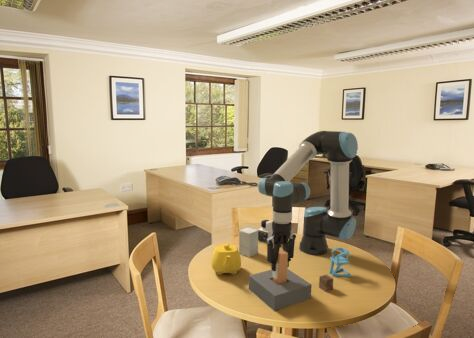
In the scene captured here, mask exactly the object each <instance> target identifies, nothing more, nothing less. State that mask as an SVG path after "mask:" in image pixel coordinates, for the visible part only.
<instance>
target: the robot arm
mask: <svg viewBox="0 0 474 338" xmlns="http://www.w3.org/2000/svg"><path fill="white" fill-rule="evenodd" d="M358 148H359V147H358V140H357V137H356V136H355V135H354V133H352V132H346V131H335V130H332V131H331V130H329V131H328V130H319V131H316V132H315V133H312V134H310V135H309V136H307V137H306V138H304V139H303V140H302V141H301V142H300V143H299V145H298V148H297V149H296V150H295V151H294V152H293V153H292V154H291V156H289V157H288V158H287V159H286V160H285V162H284V163H283V164H282V165H280V166H279V168H278V169H276V171H275V172H274V173H273V174H272V175H271V176H270V177H262V178H261V179H260V180H259V182H258V183H257V185H258V186H257V189H258V192H259V193H260V194H262V195H264V196H266V197H271V198H272V200H273V201H272V204H273V205H272V220H271V222H272V230H273V234H272V237H270V238H266V242H267V244H266V258H267V259H266V261H268V262H269V263H270V264H271V265H270V267H271V268H270V270H273V272H272V277H274V278H275V279H278V263H277V259H278V254H279V250H281V247H282V250H284V251H285V252H287V253H288V261H287V269H288V270H289V267H290V262H291V261H292V259H293V258H294V257H295V256H294V253H295V242H296V238H297V235H296V234H295V233H293V232H292V219H293V205H294V204H296V203H300V202H304V201H305V200H307V199H308V198H310V196H311V189H310V188H311V187H310V186H309V185H308V184H307V183H306V182H291V180H292V179H293V178H294V177H296V175H297V174H298V173H299V172H300V171H301V169H303V167H304V166H305V165H306V164H307V163H308V162H309V161H310V160H311V159H314V158H315V157H317V156H318V155H323V156H324V155H325V156H326V157H327V158H326V159H327V161H328V162H329V163H330V209H327V207H325V206H312V207H308V208H306V209H305V211H304V212H303V213H304V214H303V233H302V237H301V240H300V242H299V245H298V247H299V250H300V251H301V252H302V253H304V254H308V255H313V256H314V255H315V256H317V255H318V256H320V255H325V254H327V253H328V252H329V245H328V242H327V237H326V236H330V237H333V238H336V239H339V240H349V239H350V238H351V237H352V236H353V234H354V232H355V230H356V227H357V220H356V218H354V217H352V216H353V215H352V213H353V212H352V211H351V210H350V209H349V201H350V200H349V197H350V196H349V194H350V193H349V189H350V187H349V186H350V163H351V162H352V161H353V158H355V157H356V156H357V153H358ZM273 240H274V241H273Z"/></svg>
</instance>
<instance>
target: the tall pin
mask: <svg viewBox="0 0 474 338" xmlns="http://www.w3.org/2000/svg"><path fill="white" fill-rule="evenodd" d="M287 261H288V253H287V252H285V251H284V250H283V248H282V249H281V248H280V249H279V254H278V259H277V263H278V279H275V278H274V277H273V282H275V283H276V284H277V285H280V284H283V283H286V282H287Z"/></svg>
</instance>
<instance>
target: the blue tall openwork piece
mask: <svg viewBox="0 0 474 338" xmlns="http://www.w3.org/2000/svg"><path fill="white" fill-rule="evenodd" d="M336 251H338V252H339V251H340V253H339V254H337V255H336V256H335V255H334V252H336ZM330 252H331V256H330V257H329V258H330V260H331V263H330V268H329V271H328V272H329V274H331V277H342V278H345V277H346V278H351V277H352V274H351V273H350V272H349V271H348V270H347V269H346V268H345V267H342V266H343V265H346V264H349V265H350V264H351V262H350V260H349V257H350V255H351V254H350V252H349V250H348V249H347V248H343V247H336V248H334V249H332V250H331V251H330ZM345 256H346V257H345ZM335 265H336V267H335V269H334V266H335ZM340 271H343V272H344V273H337V272H340Z"/></svg>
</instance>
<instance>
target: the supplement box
mask: <svg viewBox="0 0 474 338" xmlns="http://www.w3.org/2000/svg"><path fill="white" fill-rule="evenodd" d="M238 231H239V234H238V235H239V236H238V246H239V247H238V252H239V254H240V255H242V256H246V257H248V258H251V257H253V256H255V255H257V254H258V253H259V241H258V229H255V228H251V227H248V226H247V227H245V228H242V229H240V230H238Z"/></svg>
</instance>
